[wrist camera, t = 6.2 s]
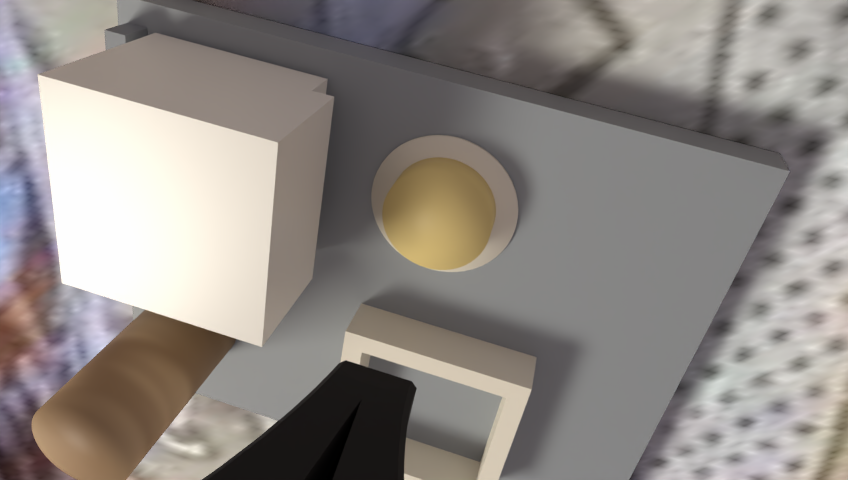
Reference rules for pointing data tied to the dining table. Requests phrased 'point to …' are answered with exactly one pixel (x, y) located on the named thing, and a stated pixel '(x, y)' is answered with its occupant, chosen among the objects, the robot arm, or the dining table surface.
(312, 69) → the board
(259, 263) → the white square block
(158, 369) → the peg
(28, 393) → the dining table surface
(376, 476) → the robot arm
